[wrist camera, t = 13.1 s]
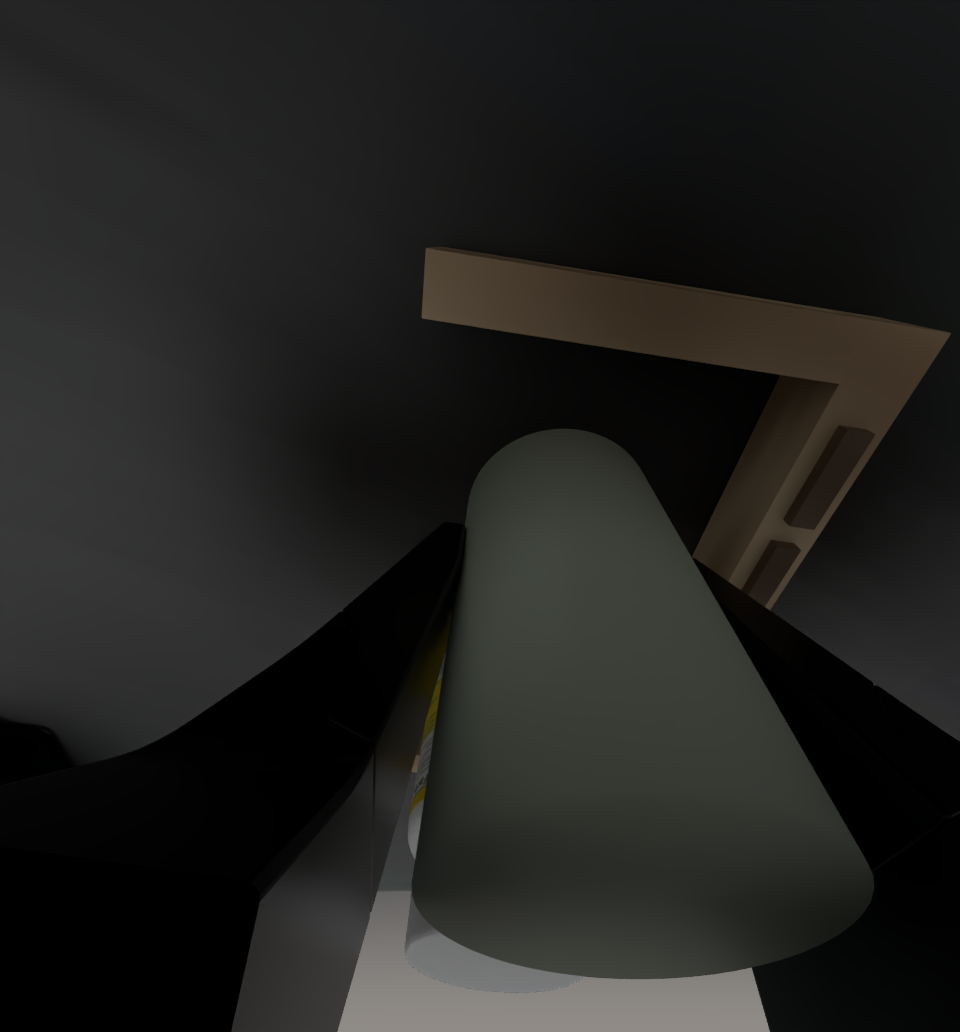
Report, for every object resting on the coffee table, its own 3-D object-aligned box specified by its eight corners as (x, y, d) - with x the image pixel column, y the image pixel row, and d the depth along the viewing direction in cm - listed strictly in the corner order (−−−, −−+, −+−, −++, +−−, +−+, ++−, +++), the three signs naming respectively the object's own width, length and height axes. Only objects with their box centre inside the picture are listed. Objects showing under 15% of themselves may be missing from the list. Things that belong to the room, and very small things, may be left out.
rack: (632, 752, 19) (646, 810, 18) (402, 722, 19) (391, 777, 17) (877, 317, 10) (965, 335, 8) (440, 246, 10) (423, 248, 8)
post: (617, 592, 11) (741, 994, 5) (458, 570, 11) (401, 954, 5) (676, 444, 9) (996, 834, 3) (481, 414, 9) (429, 761, 3)
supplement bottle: (580, 684, 17) (631, 996, 10) (469, 709, 19) (444, 1004, 11) (539, 596, 15) (567, 916, 8) (415, 630, 16) (343, 937, 9)
